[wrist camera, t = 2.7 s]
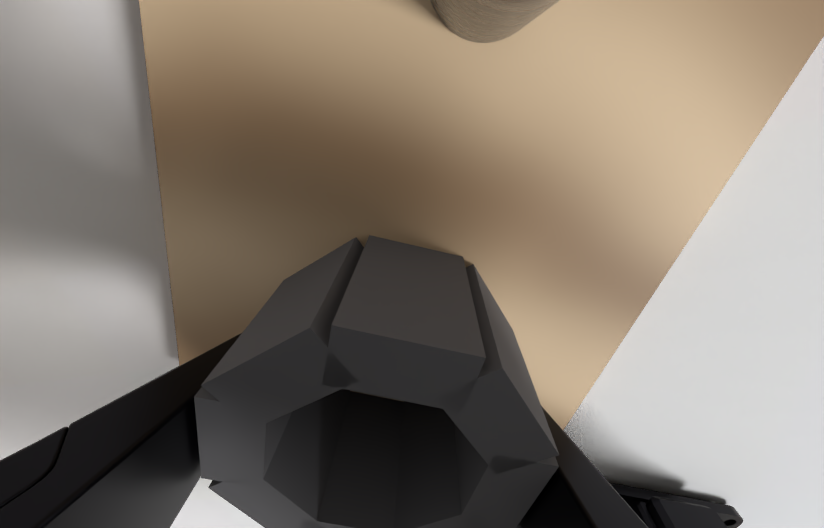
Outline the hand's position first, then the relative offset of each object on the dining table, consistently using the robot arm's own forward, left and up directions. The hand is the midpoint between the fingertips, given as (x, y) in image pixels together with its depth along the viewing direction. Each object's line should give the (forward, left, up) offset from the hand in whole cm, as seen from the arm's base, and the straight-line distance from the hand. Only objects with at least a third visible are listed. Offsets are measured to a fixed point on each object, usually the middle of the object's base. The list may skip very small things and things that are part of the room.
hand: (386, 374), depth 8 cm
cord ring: (0, 0, -1) cm, 1 cm away
